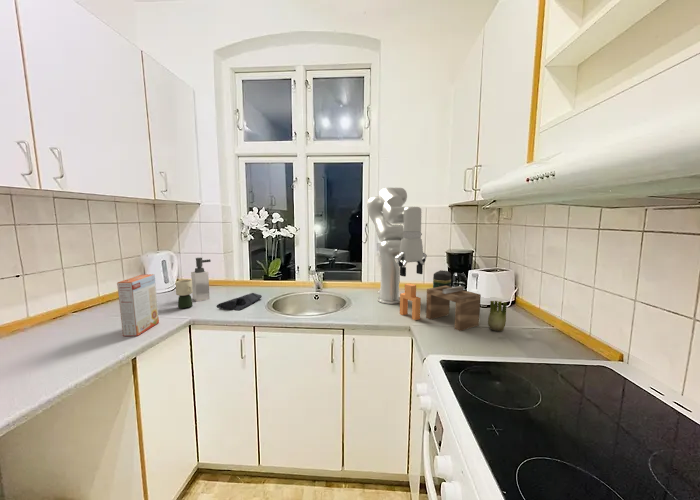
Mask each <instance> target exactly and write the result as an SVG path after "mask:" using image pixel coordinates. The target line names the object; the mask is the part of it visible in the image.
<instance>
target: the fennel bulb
mask: <svg viewBox="0 0 700 500" xmlns="http://www.w3.org/2000/svg"><path fill="white" fill-rule="evenodd" d="M489 304H490V306H489V307H490V310H489V314H488V319H487V320H488V321H487V326H488V328H489V329H490V330H491V331H493V332H503V331H504V329H505V327H506V324H507V304H508V302H504V301H503V302H502V301H500V300H499V301H498V300H490V301H489Z"/></svg>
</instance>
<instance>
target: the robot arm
mask: <svg viewBox="0 0 700 500" xmlns="http://www.w3.org/2000/svg"><path fill="white" fill-rule="evenodd" d="M407 199H408V194H407V190H406V189H405V188H403V187H389V186H388V187H384V188H382V189H380V190H379V193H378V196H371V197H370V198H369V199H368V200H367V202H366V204H367V205H366V208H367V213H368V216H369V217H370V219H371V222H372V223H373V225H374V228H375V232H376V236H377V238H378V240H379V241H380V242H381V243H380V244H379V248H378V250H379V257H380V258H379V259H380V288H379V290H378V291H377V294H378V295H379V296H378V297H377V298H376V299H377V301H378V302H379V303H382V304H388V305H394V304H395V305H396V304H400V276H401V277H404V278H405V277H406V276H407V264H408V263H416V274H418V275H423V272H424V265H425V262H426V260H427V256H428V254H426V253H425V252H424V249H423V247H424V245H423V239H422V235H423V233H422V208H421V207H420V206H404V205H405V204H406V202H407ZM402 224H403V225H402Z"/></svg>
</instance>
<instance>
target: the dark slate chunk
mask: <svg viewBox="0 0 700 500" xmlns="http://www.w3.org/2000/svg"><path fill="white" fill-rule="evenodd" d="M261 298H263V297H262V295H261V294H257V293H255V292H251V293H247V294H244V295H241V296H239V297H236V298H233V299H228V300H226V301H223V302H220V303H218V304H216V308H218V309H223V310H226V311H241V310H243V309H246V308H248V307H249V306H251V305H253V304H254V303H256V302H258V301H259V300H261Z"/></svg>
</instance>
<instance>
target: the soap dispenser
mask: <svg viewBox="0 0 700 500" xmlns="http://www.w3.org/2000/svg"><path fill="white" fill-rule="evenodd" d="M211 261H212V260H211V259H203V257H195V263H196V264H195V265H196V266H195V267H196V268H195V269H194V271H190V276H191V278H190V280H192V290H193V292H192V293H191V294H192V295H191V297H192V301H195V302H202V301H208V299H209V300H211V299H210V298H211V297H210V284H209V283H210V282H209V278H210V277H209V272H208V271H206V270H205V268H204V267H203V263H211Z"/></svg>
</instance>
